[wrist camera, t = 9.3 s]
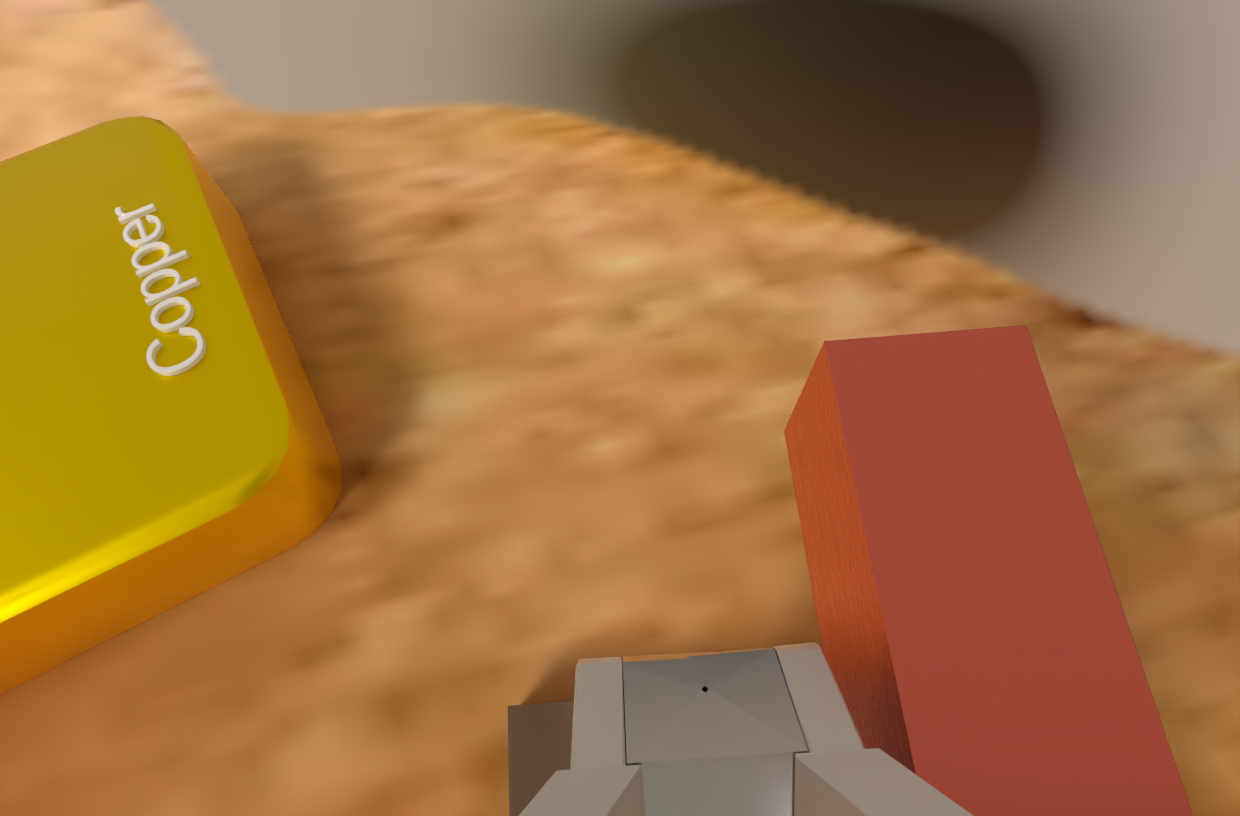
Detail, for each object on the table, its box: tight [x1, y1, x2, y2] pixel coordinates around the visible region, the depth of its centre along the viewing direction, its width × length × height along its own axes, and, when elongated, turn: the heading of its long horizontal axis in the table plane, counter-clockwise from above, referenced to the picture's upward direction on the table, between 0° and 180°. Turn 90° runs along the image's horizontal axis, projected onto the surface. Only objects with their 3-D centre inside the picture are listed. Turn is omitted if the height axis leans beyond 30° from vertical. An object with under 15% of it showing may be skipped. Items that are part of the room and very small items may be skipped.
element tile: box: [0, 116, 342, 694], centre depth 23 cm, size 15×15×5 cm
